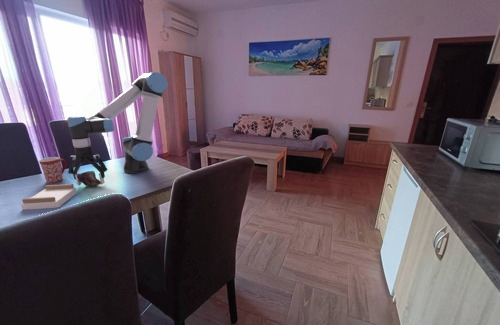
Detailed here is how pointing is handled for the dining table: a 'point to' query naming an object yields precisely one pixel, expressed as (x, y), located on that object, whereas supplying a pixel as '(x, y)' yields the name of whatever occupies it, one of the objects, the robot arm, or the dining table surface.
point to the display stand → (50, 197)
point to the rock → (88, 178)
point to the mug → (52, 169)
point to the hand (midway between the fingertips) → (91, 184)
